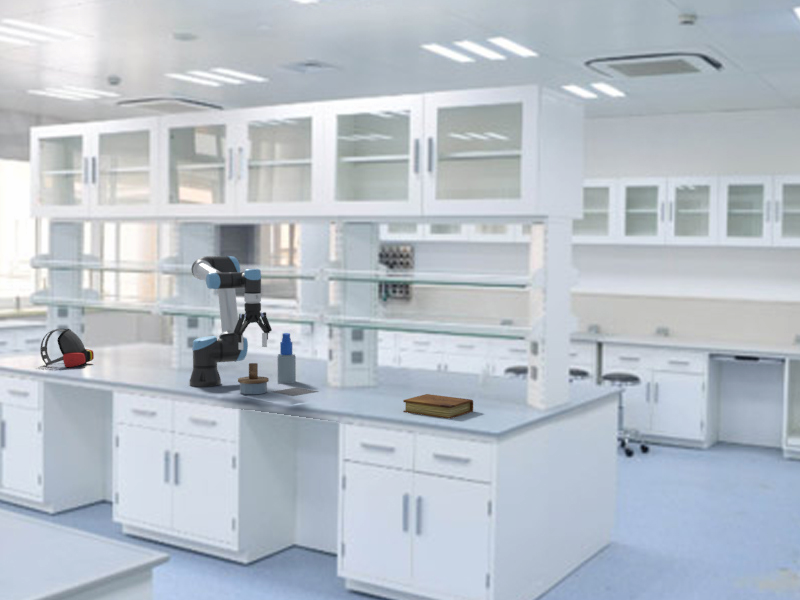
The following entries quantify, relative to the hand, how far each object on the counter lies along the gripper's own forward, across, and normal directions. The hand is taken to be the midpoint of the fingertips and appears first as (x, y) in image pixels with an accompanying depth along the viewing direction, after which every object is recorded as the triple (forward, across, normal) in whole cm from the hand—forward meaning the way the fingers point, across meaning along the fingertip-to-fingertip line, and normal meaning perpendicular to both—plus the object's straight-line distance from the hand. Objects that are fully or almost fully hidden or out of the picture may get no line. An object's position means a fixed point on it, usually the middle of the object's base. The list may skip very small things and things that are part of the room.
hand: (252, 348), depth 421 cm
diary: (+21, +29, -88) cm, 95 cm away
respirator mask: (+23, -17, +146) cm, 148 cm away
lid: (+15, 0, 0) cm, 15 cm away
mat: (+21, +15, -12) cm, 29 cm away
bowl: (+21, 0, 0) cm, 21 cm away
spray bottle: (+22, +30, +12) cm, 39 cm away
